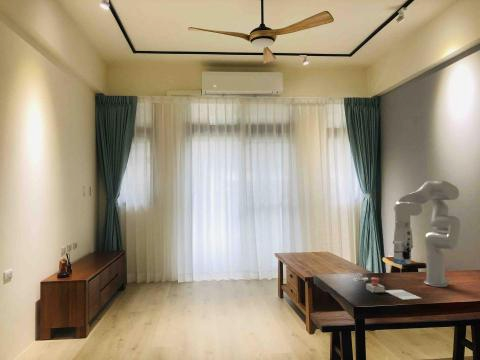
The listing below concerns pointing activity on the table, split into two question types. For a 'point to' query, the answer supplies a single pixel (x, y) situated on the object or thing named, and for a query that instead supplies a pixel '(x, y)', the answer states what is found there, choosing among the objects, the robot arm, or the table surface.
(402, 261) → the ink box
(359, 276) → the white ring with cylinder
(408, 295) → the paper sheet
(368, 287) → the button housing
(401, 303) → the table surface
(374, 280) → the button
